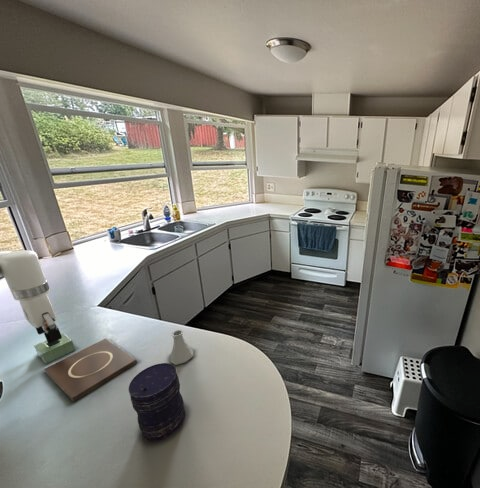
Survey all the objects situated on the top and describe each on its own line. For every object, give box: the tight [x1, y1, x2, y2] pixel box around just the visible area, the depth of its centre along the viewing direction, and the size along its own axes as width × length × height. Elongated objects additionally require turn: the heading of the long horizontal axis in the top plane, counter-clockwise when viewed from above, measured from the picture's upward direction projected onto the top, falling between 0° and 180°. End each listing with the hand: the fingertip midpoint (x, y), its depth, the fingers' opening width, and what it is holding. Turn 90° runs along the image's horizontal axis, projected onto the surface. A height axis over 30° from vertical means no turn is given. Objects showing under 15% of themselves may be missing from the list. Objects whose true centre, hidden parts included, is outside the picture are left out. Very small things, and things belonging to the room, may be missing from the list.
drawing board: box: [43, 337, 138, 403], centre depth 80 cm, size 16×20×2 cm
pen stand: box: [33, 333, 76, 365], centre depth 85 cm, size 7×7×4 cm
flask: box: [169, 329, 194, 366], centre depth 84 cm, size 7×7×10 cm
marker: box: [43, 322, 59, 346], centre depth 84 cm, size 2×2×12 cm
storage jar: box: [128, 362, 187, 443], centre depth 62 cm, size 10×10×15 cm
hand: (50, 335), depth 83 cm, fingers open, 7 cm apart
